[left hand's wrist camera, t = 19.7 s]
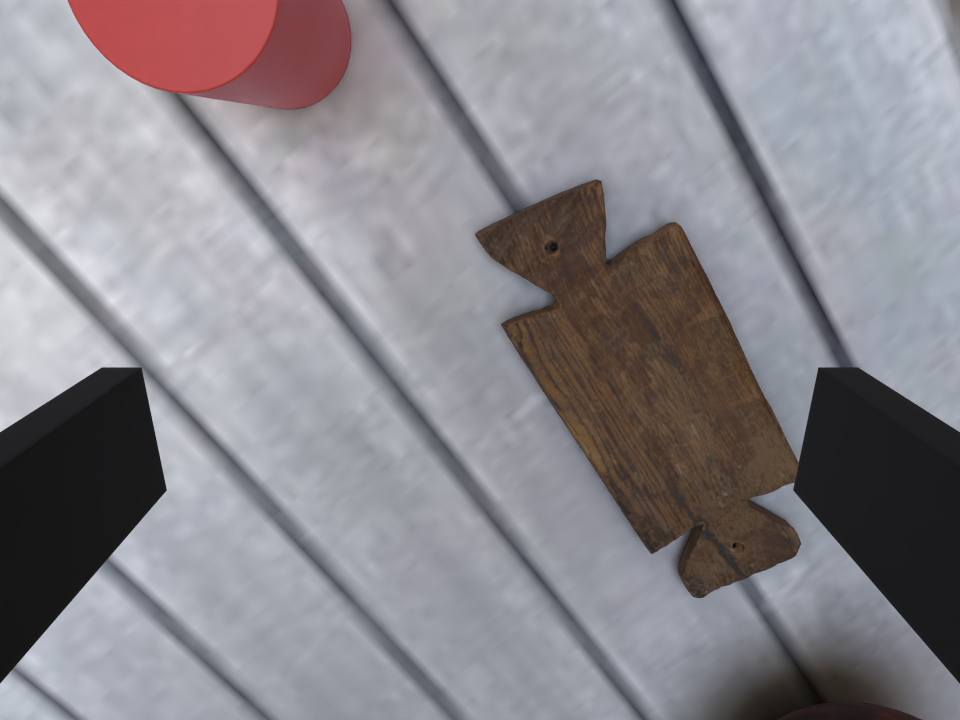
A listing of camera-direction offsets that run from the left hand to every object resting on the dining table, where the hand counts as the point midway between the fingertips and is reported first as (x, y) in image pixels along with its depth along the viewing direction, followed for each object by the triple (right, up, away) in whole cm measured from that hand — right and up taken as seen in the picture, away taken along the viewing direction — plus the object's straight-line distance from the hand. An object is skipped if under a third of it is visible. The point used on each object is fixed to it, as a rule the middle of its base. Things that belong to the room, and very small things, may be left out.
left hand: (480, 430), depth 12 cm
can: (-9, +16, +16) cm, 24 cm away
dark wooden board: (+10, -1, +22) cm, 24 cm away
